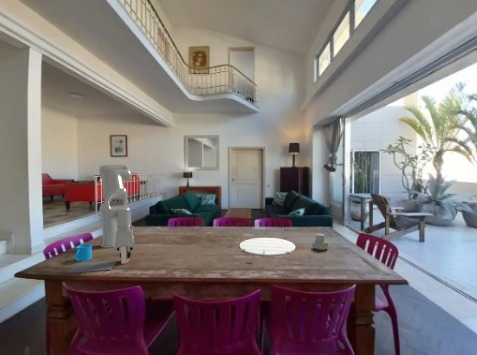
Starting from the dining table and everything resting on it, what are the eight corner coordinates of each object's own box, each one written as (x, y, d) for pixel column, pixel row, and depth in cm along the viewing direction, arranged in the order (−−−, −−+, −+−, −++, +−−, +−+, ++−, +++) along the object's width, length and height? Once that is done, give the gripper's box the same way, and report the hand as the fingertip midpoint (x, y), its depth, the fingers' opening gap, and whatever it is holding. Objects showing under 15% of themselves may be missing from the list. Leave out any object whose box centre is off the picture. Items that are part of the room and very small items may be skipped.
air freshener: (319, 252, 179) (319, 237, 179) (309, 248, 186) (309, 234, 186) (330, 249, 185) (330, 234, 185) (320, 246, 192) (320, 232, 192)
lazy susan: (295, 258, 168) (295, 252, 168) (234, 254, 176) (233, 249, 176) (295, 240, 207) (295, 236, 207) (244, 238, 215) (244, 233, 215)
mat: (77, 264, 160) (77, 263, 160) (117, 261, 164) (117, 260, 164) (67, 273, 147) (66, 272, 147) (110, 270, 150) (110, 269, 150)
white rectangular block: (124, 259, 167) (123, 243, 167) (129, 259, 168) (129, 243, 167) (121, 263, 160) (120, 247, 160) (126, 263, 161) (126, 246, 160)
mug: (82, 256, 174) (82, 244, 173) (94, 256, 173) (94, 244, 172) (69, 263, 162) (68, 249, 161) (82, 263, 161) (81, 250, 160)
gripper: (140, 226, 168) (140, 255, 169) (111, 227, 165) (112, 257, 166) (137, 229, 160) (138, 259, 161) (108, 230, 158) (109, 261, 159)
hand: (125, 258), depth 164 cm, fingers closed on white rectangular block, 3 cm apart
